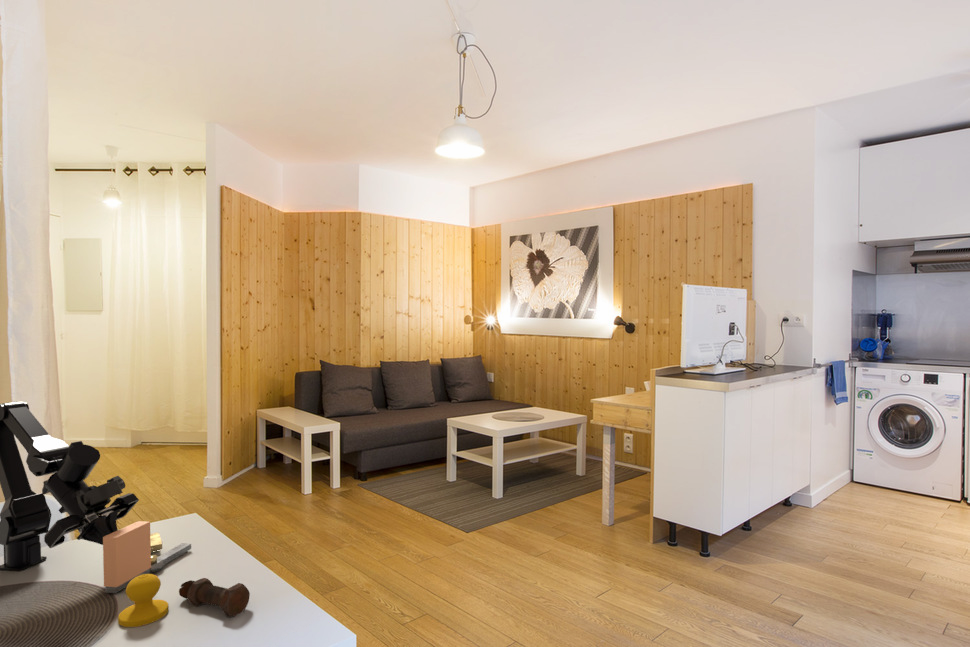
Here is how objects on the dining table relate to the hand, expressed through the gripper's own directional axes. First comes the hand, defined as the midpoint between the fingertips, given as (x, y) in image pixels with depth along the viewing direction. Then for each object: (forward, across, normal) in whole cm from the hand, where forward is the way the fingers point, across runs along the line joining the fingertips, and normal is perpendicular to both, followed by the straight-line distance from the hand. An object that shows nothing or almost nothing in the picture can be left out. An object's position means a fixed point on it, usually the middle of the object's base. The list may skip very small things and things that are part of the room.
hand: (119, 547), depth 117 cm
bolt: (+24, -6, -13) cm, 28 cm away
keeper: (+2, +13, +8) cm, 15 cm away
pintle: (+6, +6, +2) cm, 8 cm away
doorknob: (+17, -11, -6) cm, 21 cm away
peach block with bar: (+7, +6, +3) cm, 10 cm away
